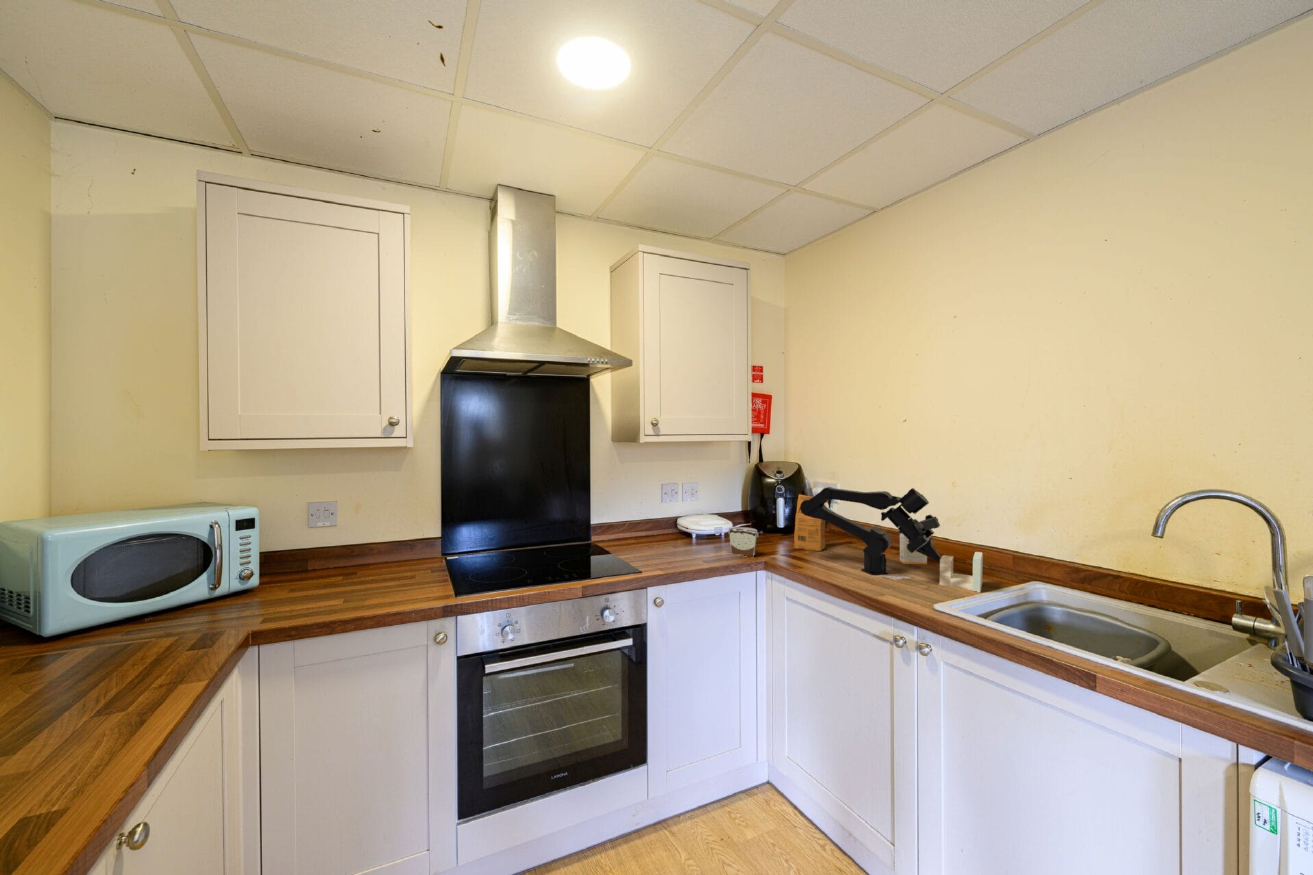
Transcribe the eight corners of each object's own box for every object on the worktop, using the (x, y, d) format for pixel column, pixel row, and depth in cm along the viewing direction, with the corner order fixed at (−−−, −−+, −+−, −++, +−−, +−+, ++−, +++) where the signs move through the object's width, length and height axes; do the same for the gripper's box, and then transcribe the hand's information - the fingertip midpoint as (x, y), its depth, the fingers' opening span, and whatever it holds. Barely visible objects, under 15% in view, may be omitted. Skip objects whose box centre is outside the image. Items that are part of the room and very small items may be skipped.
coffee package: (799, 544, 225) (799, 492, 224) (828, 548, 217) (828, 495, 217) (790, 548, 216) (790, 495, 216) (820, 552, 209) (821, 497, 209)
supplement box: (922, 561, 196) (922, 526, 195) (927, 565, 191) (927, 529, 191) (898, 561, 196) (899, 526, 196) (903, 564, 192) (904, 528, 191)
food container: (763, 554, 205) (763, 529, 205) (757, 557, 200) (757, 531, 200) (734, 550, 212) (734, 525, 212) (727, 553, 207) (727, 528, 207)
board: (972, 591, 160) (972, 558, 160) (974, 582, 169) (975, 551, 169) (980, 592, 159) (980, 559, 158) (982, 583, 168) (982, 552, 167)
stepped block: (939, 585, 166) (939, 559, 166) (942, 579, 173) (942, 554, 172) (972, 590, 161) (973, 564, 161) (974, 583, 167) (974, 558, 167)
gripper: (919, 510, 164) (959, 551, 158) (927, 504, 180) (964, 540, 174) (891, 532, 169) (929, 572, 163) (902, 524, 184) (936, 560, 178)
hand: (940, 560), depth 169 cm, fingers closed, pressing on stepped block
